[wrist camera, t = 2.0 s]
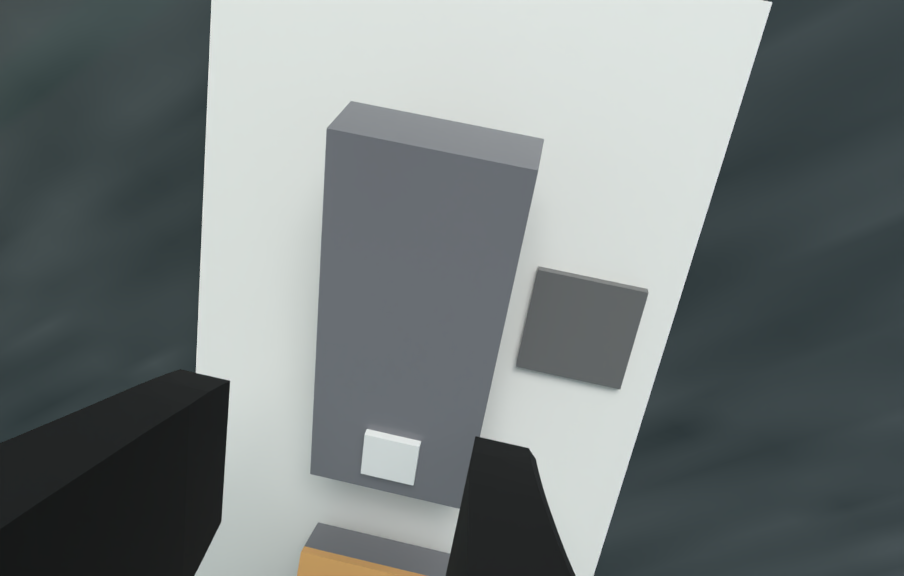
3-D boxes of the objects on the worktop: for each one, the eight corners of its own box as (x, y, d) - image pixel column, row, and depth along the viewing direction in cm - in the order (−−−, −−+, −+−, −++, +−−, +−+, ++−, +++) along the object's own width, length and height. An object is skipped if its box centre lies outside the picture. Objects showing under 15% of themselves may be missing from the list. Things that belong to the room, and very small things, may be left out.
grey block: (543, 139, 11) (537, 174, 10) (473, 463, 15) (462, 515, 14) (351, 101, 11) (322, 131, 10) (329, 431, 15) (307, 480, 14)
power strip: (837, -378, 12) (955, -541, 9) (464, 906, 26) (447, 1060, 22) (317, -454, 13) (217, -637, 9) (218, 840, 27) (161, 979, 23)
